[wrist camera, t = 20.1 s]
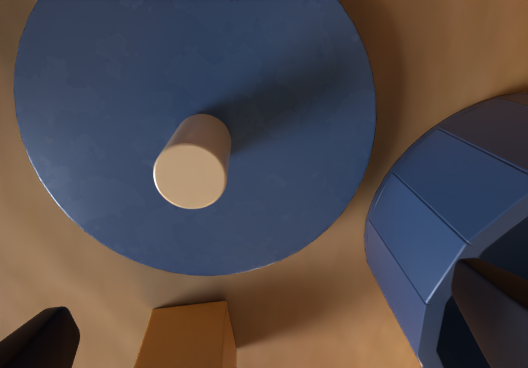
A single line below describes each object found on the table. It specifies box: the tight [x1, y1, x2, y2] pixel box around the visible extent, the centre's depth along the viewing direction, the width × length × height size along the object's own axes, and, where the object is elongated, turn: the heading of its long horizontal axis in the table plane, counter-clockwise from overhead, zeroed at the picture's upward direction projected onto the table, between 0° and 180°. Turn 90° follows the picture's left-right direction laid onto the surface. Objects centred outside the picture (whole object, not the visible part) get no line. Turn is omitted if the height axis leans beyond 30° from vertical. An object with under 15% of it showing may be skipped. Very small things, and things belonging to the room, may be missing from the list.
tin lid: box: [14, 0, 377, 276], centre depth 13 cm, size 15×15×5 cm
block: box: [134, 301, 237, 368], centre depth 19 cm, size 5×5×5 cm
